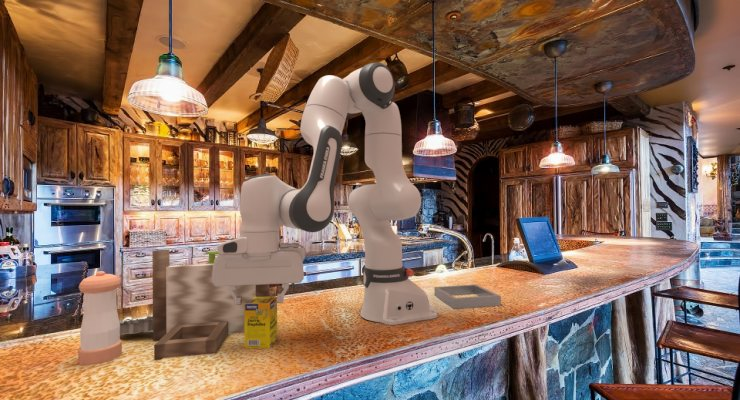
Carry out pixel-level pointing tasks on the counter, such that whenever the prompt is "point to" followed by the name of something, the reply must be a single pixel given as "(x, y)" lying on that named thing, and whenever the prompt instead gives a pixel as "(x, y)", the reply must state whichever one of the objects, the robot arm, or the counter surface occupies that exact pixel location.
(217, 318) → the wooden display stand
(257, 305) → the supplement box
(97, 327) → the pepper shaker
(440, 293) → the frame
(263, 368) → the counter surface
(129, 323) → the egg carton
